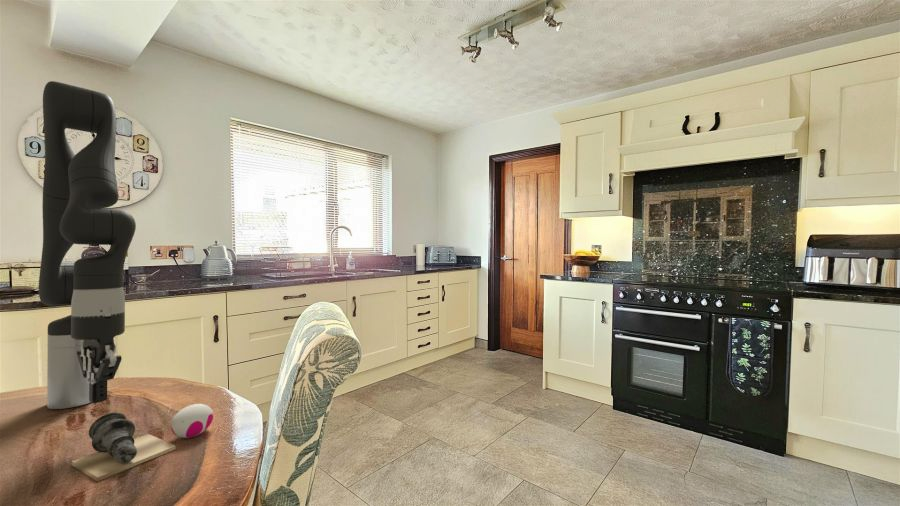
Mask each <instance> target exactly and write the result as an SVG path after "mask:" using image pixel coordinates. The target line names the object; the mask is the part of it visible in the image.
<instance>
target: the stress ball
mask: <svg viewBox="0 0 900 506" xmlns="http://www.w3.org/2000/svg"><path fill="white" fill-rule="evenodd" d="M212 408H213V406H212V407H210V406H208V405H207V404H204V403H195V404H194V403H193V404H190V405H187V406H185V407H183V408H181V409H180V410H179V411H178V412H177V413H176V414H175V415H174V416H173V418H172V420H171V423H170V429H171V432H172V434H173V435H174V436H176V437H178V438H183V439H188V438H194V437H196V436H198V435H199V436H206V437H208V435H207V434H204V432H205V431H206V430H207V429H208V428H209V427H210V426H211V424H212V422H213V420H214V411H213V409H212Z"/></svg>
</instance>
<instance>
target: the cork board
mask: <svg viewBox="0 0 900 506" xmlns="http://www.w3.org/2000/svg"><path fill="white" fill-rule="evenodd" d="M133 439H134V445H135V447H136V448H137V454H136V456H135V457H134V459H133V460H131V461H130V462H127V463H124V464H121V463H118V462H117V461H116V460H115V458H114V457H111V456H110V455H109V454H108V452H106V453H103V452H98V451H96V452H94V453H91V454H89V455H85V456H84V457H80V458H78V459H75V460H72V461H71V466H73V467H74V468H76V469H77V470H79V471H80V472H81V473H84V474H85V475H87V476H88V477H90V478H91V479H93V480H94V481H96V482H100V481H102V480H104V479H107V478H109V477H112V476H115V475H116V474H118V473H119V474H120V473H122V472H124V471H126V470H129V469H131V468H133V467H136V466H138V465H141V464H143V463H145V462H147V461H148V462H149V461H150V460H153V459H156V458H157V457H160V456H163V455H165V454H168V453H170V452H171V451H174V450H176V449H177V448H176V445H174V444H172V443H170V442H169V441H165V440H164V439H161V438H159V437H156V436H154V435H152V434H150V433H148V434H144V435H142V436H139V437H136V438H133Z"/></svg>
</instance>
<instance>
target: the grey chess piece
mask: <svg viewBox="0 0 900 506" xmlns="http://www.w3.org/2000/svg"><path fill="white" fill-rule="evenodd" d="M135 433H136V427H135V424H134V422H133V421H131V420H129V419H127V416H126V415H125V414H124V413H122V412H117V411H116V412H109V413H107V414H104V415H101V416H100V417H99V418H97V419H95V420H94V421H93V423H92V424H91V425H90V426H89V430H88V436H89V438H90V439H91V447H92V449H93V450H94V451H95V452H103V453H106V452H108V454H109V455H110V456H111V457H114V458H115V460H116V461H117V462H118V463H121V464H124V463H127V462H130V461H131V460H133V459H134V457H135V456H136V454H137V448H136V447H135V445H134V439H135V438H134V437H133V436H134V435H135Z"/></svg>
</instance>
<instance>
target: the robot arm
mask: <svg viewBox="0 0 900 506" xmlns="http://www.w3.org/2000/svg"><path fill="white" fill-rule="evenodd" d="M42 115H43V116H42V118H43V134H44V171H43V173H44V174H43V184H42V205H41V206H42V209H41V210H42V251H41V260H40V268H39V277H38V298H39V300H40V302H41V303H42V304H43V305H46V306H63V305H64V306H65V305H66V306H67V305H70V309H71V311H70V315H67V316H64V317H61V318H58V319H56V320H53V321H51V322H49V323H48V325H47V360H46V361H47V365H46V366H47V372H46V373H47V374H46V375H47V376H46V383H47V384H46V388H47V389H46V406H47V407H46V408H47V409H49V410H62V409H71V408H75V407H79V406H84V405H87V404H89V403H92V404H98V403H101V402H105V401H106V400H107V399H108V382H109V381H110V380H114V378H115V377H116V374H117V371H118V369H119V367H120V364H121V362H122V355H120V354H118V355H115V354H116V353H117V345H116V344H115V340H114V339H115V337H116V336H117V337H118V336H121V335H122V334H124V332H125V331H126V325H125V324H126V323H125V322H126V321H125V320H126V296H125V292H124V291H125V290H124V273H125V272H124V271H125V262H126V258H127V254H128V251H129V248H130V245H131V243H132V241H133V240H134V239H133V238H134V236H135V232H136V230H137V229H136V228H137V225H136V220H135V217H133V215H132V214H131V213H129V212H128V211H127V210H123V209H110V207H112V206H114V205H116V204H117V203H118V201H119V197H120V196H119V189H118V182H117V176H116V166H115V158H116V157H115V156H116V143H117V142H116V141H117V140H116V138H117V137H116V135H117V133H116V132H117V127H116V125H117V122H116V121H117V119H116V118H117V116H116V115H117V114H116V107H115V104H114V101H113V99H112V98H111V97H110V96H109V95H108V94H105V93H103V92H100V91H96V90H92V89H88V88H85V87H80V86H76V85H72V84H68V83H64V82H60V81H56V80H55V81H54V80H53V81H52V80H50V81H48V82H47V83H46V84H45V85H44V89H43V94H42ZM66 129H69V130H73V131H74V130H75V131H81V132H87V133H92V134H96V135H95V136H94V138H93V139H92V140H91V142H89V144H87V145H86V146H84V147H83V148H82V149H80V150H79V151H78V152H77V153H76V154H75V153H74V151H73V149H72V146H70V143H69V142H68V139H67V135H66ZM74 245H84V246H85V245H89V246H90V245H94V246H95V245H98V246H99V245H100V246H102V245H103V246H110V247H109V249H107V251H106V252H104V253H103V254H100V255H95V256H89V257H82V258H78V259H77V260H75V262H74V264H73V266H61V265H62V262H63V260H64V259H65V256H66V255H67V253H68V251H69V250H70V249H72V247H73V246H74Z"/></svg>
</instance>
